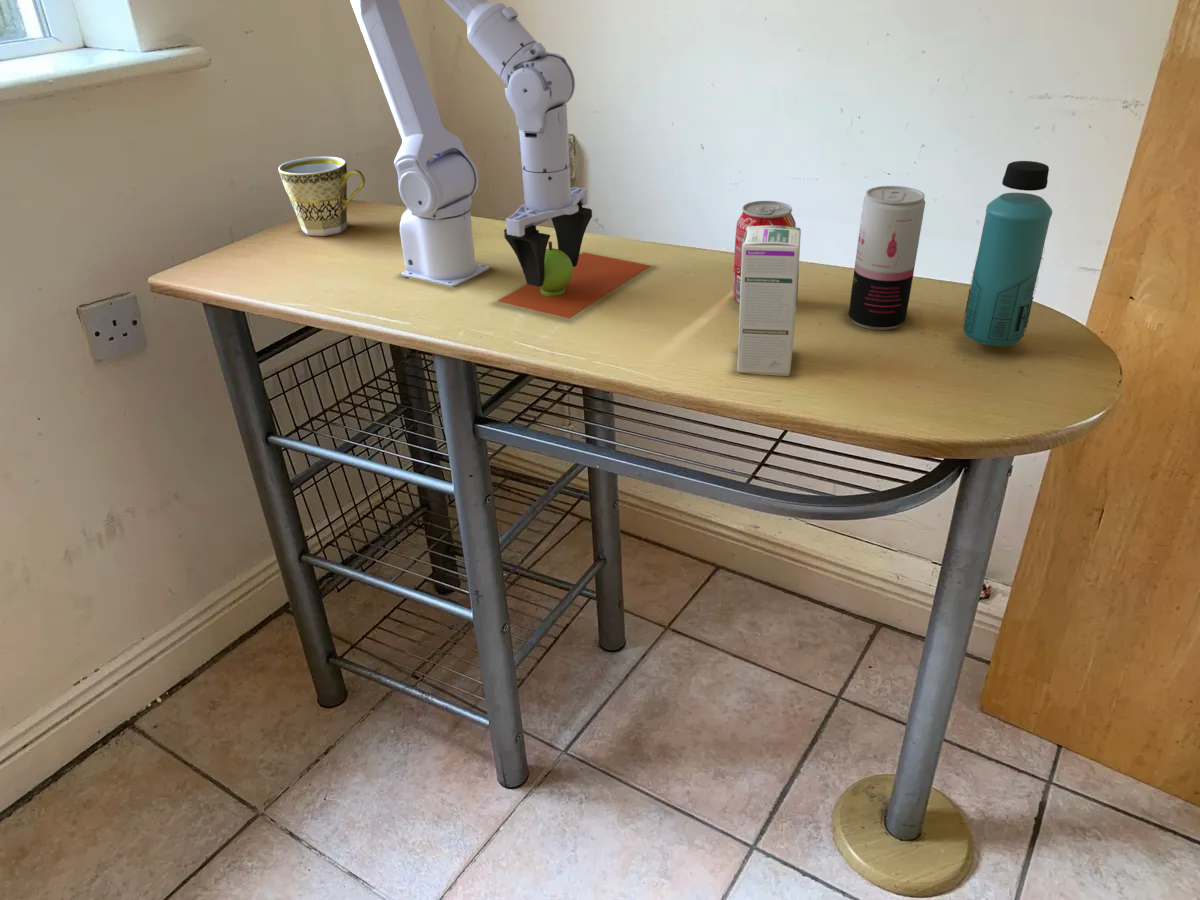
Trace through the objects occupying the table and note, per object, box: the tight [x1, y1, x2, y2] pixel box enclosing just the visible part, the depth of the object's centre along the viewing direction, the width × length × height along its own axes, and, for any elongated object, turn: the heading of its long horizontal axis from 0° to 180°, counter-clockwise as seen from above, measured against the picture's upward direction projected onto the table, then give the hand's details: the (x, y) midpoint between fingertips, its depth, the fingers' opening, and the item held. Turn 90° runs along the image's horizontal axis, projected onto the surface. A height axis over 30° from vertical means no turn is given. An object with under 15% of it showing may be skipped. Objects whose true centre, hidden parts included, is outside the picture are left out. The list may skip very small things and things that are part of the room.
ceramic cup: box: [277, 156, 366, 237], centre depth 138 cm, size 13×10×10 cm
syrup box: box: [736, 225, 802, 377], centre depth 94 cm, size 6×6×14 cm
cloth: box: [497, 251, 651, 319], centre depth 118 cm, size 11×20×1 cm, turn 148°
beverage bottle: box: [962, 160, 1053, 347], centre depth 94 cm, size 6×7×20 cm
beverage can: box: [848, 185, 926, 331], centre depth 102 cm, size 6×7×15 cm
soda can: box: [732, 200, 797, 305], centre depth 108 cm, size 7×7×12 cm
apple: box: [540, 240, 573, 296], centre depth 114 cm, size 5×5×7 cm
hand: (552, 274), depth 114 cm, fingers open, 7 cm apart
